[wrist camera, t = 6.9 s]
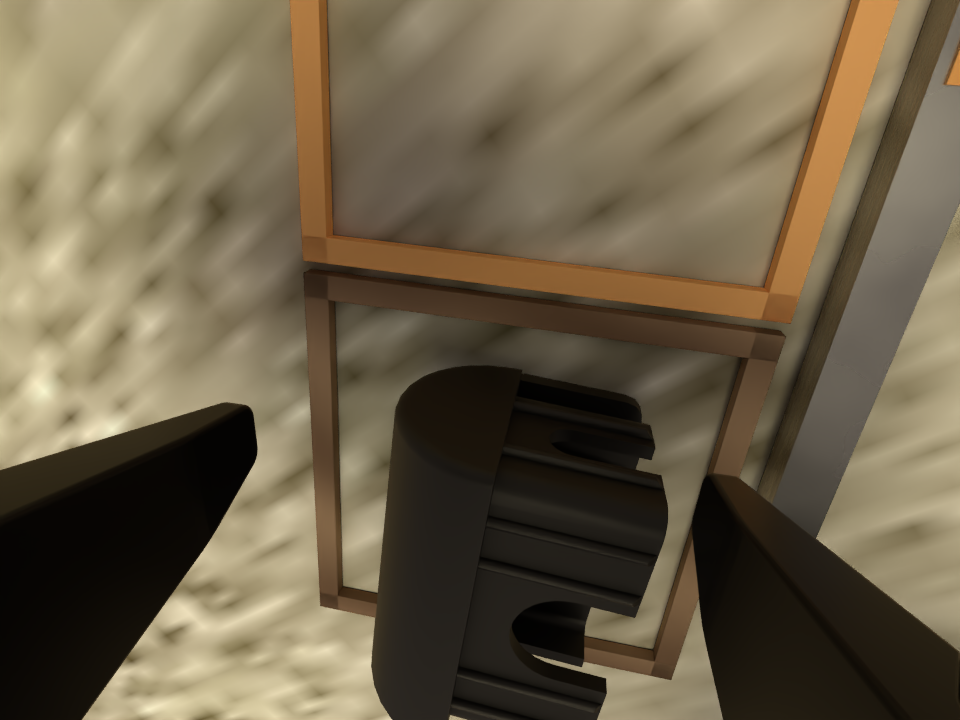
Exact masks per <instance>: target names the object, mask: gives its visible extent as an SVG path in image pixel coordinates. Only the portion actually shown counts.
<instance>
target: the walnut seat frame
mask: <svg viewBox="0 0 960 720" xmlns="http://www.w3.org/2000/svg"><path fill="white" fill-rule="evenodd" d="M304 290H305V310H306V330H307V349H308V369H309V389H310V409H311V429H312V448H313V468H314V488H315V508H316V528H317V547H318V567H319V587H320V606H323V607H328V608H333V609H337V610H342V611H347V612H352V613H356V614H361V615H366V616H370V617H376V607H377V596H378V594H375V593H370V592H366V591H361V590H356V589H351V588H346V587H343V584H342V548H341V511H340V474H339V438H338V401H337V364H336V328H335V301H339V302H346V303H353V304H360V305H368V306H375V307H382V308H389V309H397V310H404V311H411V312H418V313H425V314H433V315H440V316H447V317H454V318H462V319H469V320H476V321H483V322H490V323H498V324H505V325H512V326H519V327H527V328H534V329H541V330H548V331H556V332H563V333H570V334H577V335H584V336H592V337H599V338H606V339H613V340H621V341H628V342H635V343H642V344H650V345H657V346H664V347H671V348H678V349H686V350H693V351H700V352H707V353H715V354H722V355H729V356H736V357H743V358H742V361H741V365H740V368H739V371H738V375H737V378H736V381H735V384H734V388H733V391H732V394H731V398H730V401H729V404H728V407H727V411H726V414H725V417H724V420H723V424H722V427H721V430H720V434H719V437H718V440H717V443H716V447H715V450H714V453H713V457H712V460H711V463H710V466H709V470H708V473H707V474H709V473H717V474H724V475H731V476H736V477H738V478H739V476H740V473H741V470H742V467H743V464H744V461H745V458H746V455H747V452H748V449H749V446H750V443H751V440H752V437H753V434H754V431H755V428H756V425H757V422H758V419H759V416H760V413H761V410H762V407H763V404H764V401H765V398H766V395H767V392H768V389H769V386H770V383H771V380H772V377H773V374H774V371H775V368H776V365H777V362H778V359H779V356H780V354H781V351H782V348H783V345H784V342H785V339H786V336H785V335H784V334H783V333H782V332H781V331H779V330H771V329H763V328H756V327H748V326H741V325H733V324H725V323H718V322H710V321H703V320H695V319H687V318H680V317H672V316H665V315H657V314H649V313H642V312H634V311H627V310H619V309H611V308H604V307H596V306H589V305H581V304H573V303H566V302H558V301H551V300H543V299H535V298H528V297H520V296H513V295H505V294H497V293H490V292H482V291H474V290H467V289H459V288H452V287H444V286H436V285H429V284H421V283H414V282H406V281H398V280H391V279H383V278H376V277H368V276H360V275H353V274H345V273H338V272H330V271H322V270H315V269H310V270H308V271H306V272H304ZM698 598H699V593H698V584H697V575H696V566H695V556H694V547H693V538H692V525H691V529H690V532H689V535H688V538H687V542H686V545H685V548H684V552H683V555H682V558H681V561H680V565H679V568H678V571H677V575H676V578H675V581H674V584H673V588H672V591H671V594H670V597H669V601H668V604H667V607H666V611H665V614H664V617H663V620H662V624H661V627H660V630H659V634H658V637H657V640H656V643H655V647H654V650H653V651H652V650H647V649H642V648H638V647H633V646H628V645H623V644H618V643H613V642H608V641H604V640H599V639H594V638H589V637H584V662H588V663H593V664H597V665H602V666H607V667H612V668H616V669H621V670H626V671H630V672H635V673H640V674H645V675H649V676H654V677H659V678H664V679H668V680H671V679H672V676H673V673H674V670H675V667H676V664H677V661H678V658H679V655H680V652H681V649H682V646H683V643H684V640H685V637H686V634H687V631H688V628H689V625H690V622H691V619H692V616H693V613H694V610H695V607H696V604H697V601H698Z"/></svg>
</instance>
